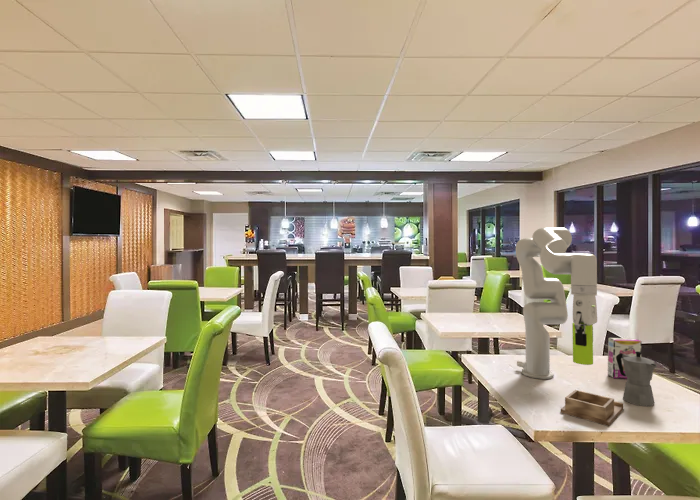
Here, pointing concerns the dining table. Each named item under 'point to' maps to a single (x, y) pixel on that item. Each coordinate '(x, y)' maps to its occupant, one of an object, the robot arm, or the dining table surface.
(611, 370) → the candy bar box
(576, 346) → the soap dispenser
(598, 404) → the wooden tray
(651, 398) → the coffeepot
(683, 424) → the dining table surface
